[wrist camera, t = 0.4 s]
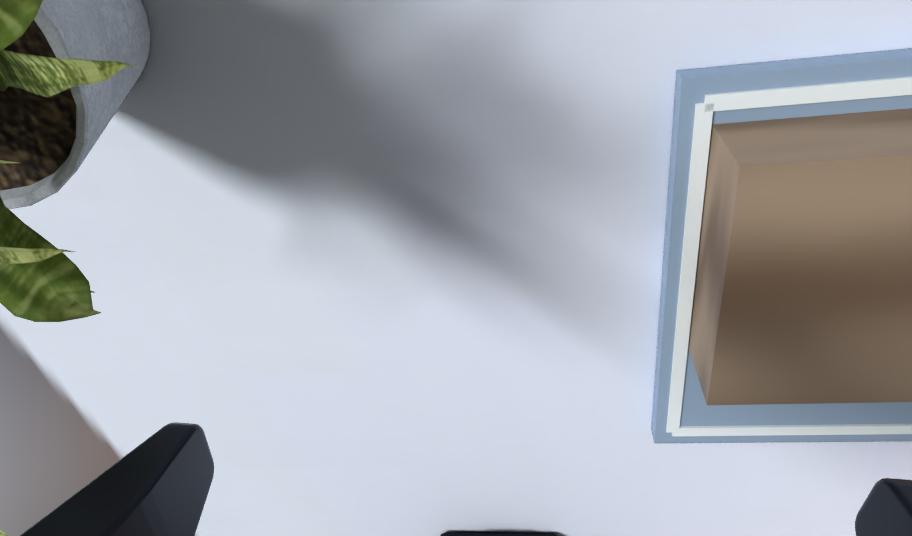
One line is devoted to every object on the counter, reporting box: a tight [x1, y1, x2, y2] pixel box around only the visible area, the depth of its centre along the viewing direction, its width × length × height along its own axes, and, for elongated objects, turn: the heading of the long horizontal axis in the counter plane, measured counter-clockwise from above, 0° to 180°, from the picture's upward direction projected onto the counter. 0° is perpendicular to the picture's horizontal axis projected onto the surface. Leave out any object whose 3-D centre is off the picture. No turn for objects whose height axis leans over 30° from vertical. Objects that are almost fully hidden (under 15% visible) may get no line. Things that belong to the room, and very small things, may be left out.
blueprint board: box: [651, 48, 912, 443], centre depth 22 cm, size 16×11×1 cm
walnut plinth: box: [689, 108, 912, 405], centre depth 20 cm, size 9×9×3 cm
